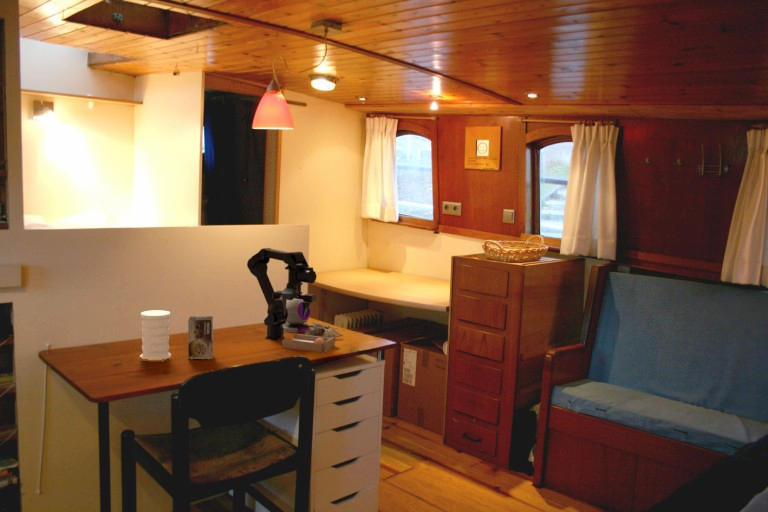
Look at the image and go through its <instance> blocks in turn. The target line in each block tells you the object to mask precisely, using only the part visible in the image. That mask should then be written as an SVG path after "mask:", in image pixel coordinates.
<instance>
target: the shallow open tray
mask: <svg viewBox="0 0 768 512" xmlns="http://www.w3.org/2000/svg"><path fill="white" fill-rule="evenodd" d="M317 338H322V339H324V342H323V343H322V344H321V343H315V341H316V339H317ZM335 339H336V337H332V338H328V337H321V336H311V335H306V334H300V333H293V338H292V339H287V338H282V346H281V347H282V348H283V349H284V348H285V349H290V350H291V349H292V350H298V351H300V350H301V351H306V350H309V351H308V352H314V351H318V352H317V353H322V352H324V353H325V351H326V352H327V351H328V350H331V349H332V348H334V347H335V343H336V342H335V341H336V340H335ZM330 348H331V349H330Z"/></svg>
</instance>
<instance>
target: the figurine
mask: <svg viewBox="0 0 768 512" xmlns="http://www.w3.org/2000/svg"><path fill="white" fill-rule="evenodd" d="M308 326H309V327H310V328H312V329H308V330H307V331H306V330H303V329H302V330H303V331H304V335H311V336H319V337H328V338H332V337H335V338H339V337H343V336H344V335H342V334H341V333H340V332H339V331H340V329H341V327H331V326H330V325H327V326H326V325H323V324H320V323H316V322H314V321H313V322H312V323H309V324H308ZM336 330H338V331H336Z"/></svg>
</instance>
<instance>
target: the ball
mask: <svg viewBox="0 0 768 512" xmlns="http://www.w3.org/2000/svg"><path fill="white" fill-rule="evenodd" d="M323 342H324V339H322V338H317V339H316V341H315V343H321V344H322V343H323Z"/></svg>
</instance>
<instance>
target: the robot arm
mask: <svg viewBox="0 0 768 512" xmlns="http://www.w3.org/2000/svg"><path fill="white" fill-rule="evenodd" d="M271 259H272V260H276V261H277V260H278V261H282V262H283V263H284V264H285V265H287V266H285V267H284V269H285V270H286V271H287V270H288V273H287V274H288V275H287V277H288V278H287V280H288V281H287V283H286V285H285V286H286V287H285V288H284V289H283V290H276V291H275V290H274V287H273V285H272V282H271V281H270V278H269V276H268V264H269V262H270V261H271ZM246 265H247V267H246V268H247V269H248V270H249V272H250V273H251V274H252V275H253V276H254V277H255V278H256V280H257V282H258V285H259V286H260V291H261V292H262V295H263V296H264V299H265V301H266V304H267V309H266V310H267V316H266V317H265V318H264V319H263V324H264V326H266V330H267V331H266V336H265V338H264V339H267V340H277V341H278V340H280V339H284V338H285V335H284V333H285V331H284V328H283V325H284V324H287V323H286V322H287V321H286V320H287V317H288V312H287V311H288V310H287V308H286V303H287V301H289V300H293V299H302V300H303V301H304V302H302V304H303V317H304V316H305V314H306V312H307V310H308V308H309V307H310V306H311V304H312V303H314V302H316V301H317V296H316V294H315V293H307V294H303V291H302V285H303V283H306V284H311V285H312V284H314V283H315V282H316V280H317V276H318V275H317V273H316V271H315V270H314V267H311V266H309V264H308V262H307V259H306V257H305V256H304V252H302V251H289V252H288V251H283V250H279V249H275V248H274V249H273V248H270V247H265V248H261V249H259V251H258V252H257V253H255V254H253V255H252V256H251V257H250V258H249V259H248V260H247V264H246Z"/></svg>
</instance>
